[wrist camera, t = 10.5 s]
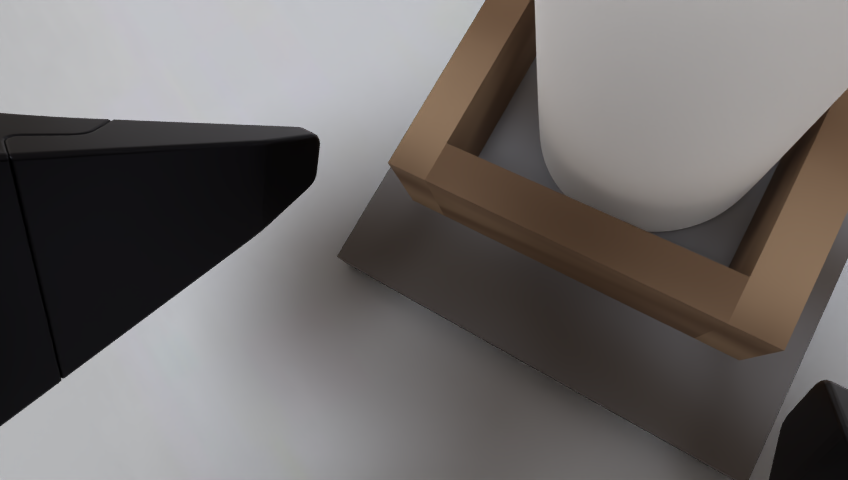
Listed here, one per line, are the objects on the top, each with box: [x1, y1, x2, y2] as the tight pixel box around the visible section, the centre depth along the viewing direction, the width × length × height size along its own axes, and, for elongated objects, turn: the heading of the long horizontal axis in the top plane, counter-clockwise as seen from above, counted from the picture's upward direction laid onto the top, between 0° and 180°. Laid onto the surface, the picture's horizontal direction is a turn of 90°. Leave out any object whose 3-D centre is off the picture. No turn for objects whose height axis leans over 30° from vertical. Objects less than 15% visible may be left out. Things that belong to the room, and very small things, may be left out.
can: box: [535, 0, 848, 232], centre depth 11 cm, size 6×6×12 cm
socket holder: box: [337, 0, 848, 480], centre depth 16 cm, size 14×13×4 cm
